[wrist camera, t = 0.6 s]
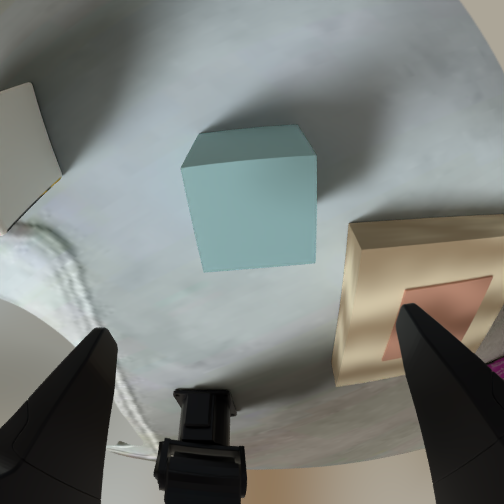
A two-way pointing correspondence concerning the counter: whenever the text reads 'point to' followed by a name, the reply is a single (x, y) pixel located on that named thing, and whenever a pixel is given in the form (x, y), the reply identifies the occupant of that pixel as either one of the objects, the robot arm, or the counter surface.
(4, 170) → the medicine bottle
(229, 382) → the counter surface
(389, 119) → the counter surface
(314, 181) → the teal block
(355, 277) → the stack base
